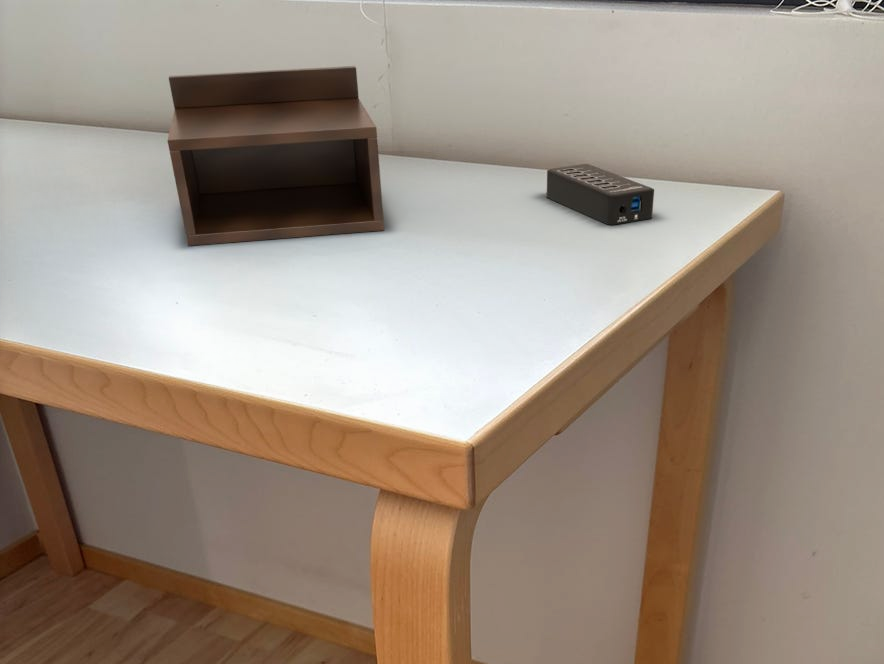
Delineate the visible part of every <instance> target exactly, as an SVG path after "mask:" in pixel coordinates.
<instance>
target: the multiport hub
mask: <svg viewBox="0 0 884 664" xmlns="http://www.w3.org/2000/svg"><path fill="white" fill-rule="evenodd" d="M546 198H547V199H549V200H552V201H553V202H556V203H559V204H560V205H563V206H565V207H567V208H570V209H572V210H574V211H576V212H578V213H581V214H583V215H585V216H588V217H590V218H592V219H594V220H597V221H599V222H602V223H603V224H606V225H608V226H614V225H615V226H616V225H620V224H626V223H627V224H628V223H633V222H639V221H644V220H649V219H651V220H652V218H653V211H654V201H655V200H654V199H655V188H652V187H650V186H648V185H645V184H642V183H640V182H638V181H635V180H631V179H629V178H626V177H623V176H621V175H619V174H617V173H616V174H615V173H613V172H611V171H608V170H605V169H602V168H599V167H597V166H594V165H591V164H589V163H582V164H574V165H568V166H561V167H554V168H549V169H547V170H546Z"/></svg>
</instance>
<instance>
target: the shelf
mask: <svg viewBox="0 0 884 664" xmlns="http://www.w3.org/2000/svg"><path fill="white" fill-rule="evenodd" d="M357 73H358V72H357V67H356V66H355V65H346V66H327V67H309V68H292V69H289V68H288V69H274V70H273V69H272V70H257V71H256V70H255V71H254V70H253V71H237V72H236V71H235V72H219V73H216V72H215V73H199V74H197V73H196V74H182V75H180V74H179V75H169V76H168V82H169V88H170V94H171V99H172V103H173V108H174V110H173V113H172V118H171V123H170V127H169V131H168V136H167V139H166V140H167V145H168V150H169V155H170V160H171V166H172V171H173V176H174V181H175V185H176V191H177V197H178V202H179V206H180V213H181V217H182V222H183V227H184V233H185V238H186V243H187V246H189V247H190V246H191V247H192V246H203V245H218V244H229V243H241V242H253V241H266V240H279V239H280V240H281V239H292V238H303V237H304V238H306V237H316V236H317V237H318V236H331V235H341V234H342V235H343V234H356V233H366V232H368V233H369V232H380V231H385V222H384V209H383V197H382V183H381V169H380V156H379V145H378V144H379V142H378V129H377V126H376V124H375V122H374V121H373V119H372V118H371V115H370V114H369V112H368V111H367V110H366V107H365V106H364V104H363V103H362V100H361V99H360V97H359V86H358V74H357Z"/></svg>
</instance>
